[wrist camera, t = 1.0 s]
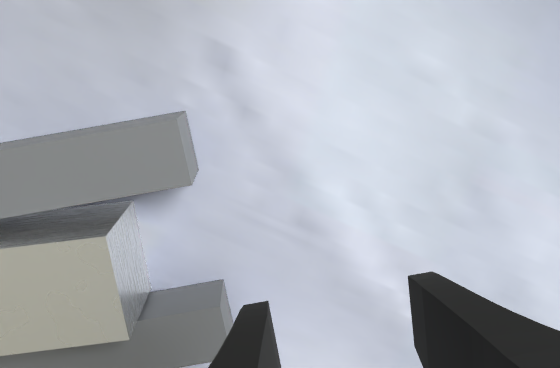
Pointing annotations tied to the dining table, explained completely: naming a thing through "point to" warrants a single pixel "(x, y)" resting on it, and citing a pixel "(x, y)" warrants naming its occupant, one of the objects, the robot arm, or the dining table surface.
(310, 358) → the dining table surface
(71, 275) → the rectangular block
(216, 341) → the grey bars
